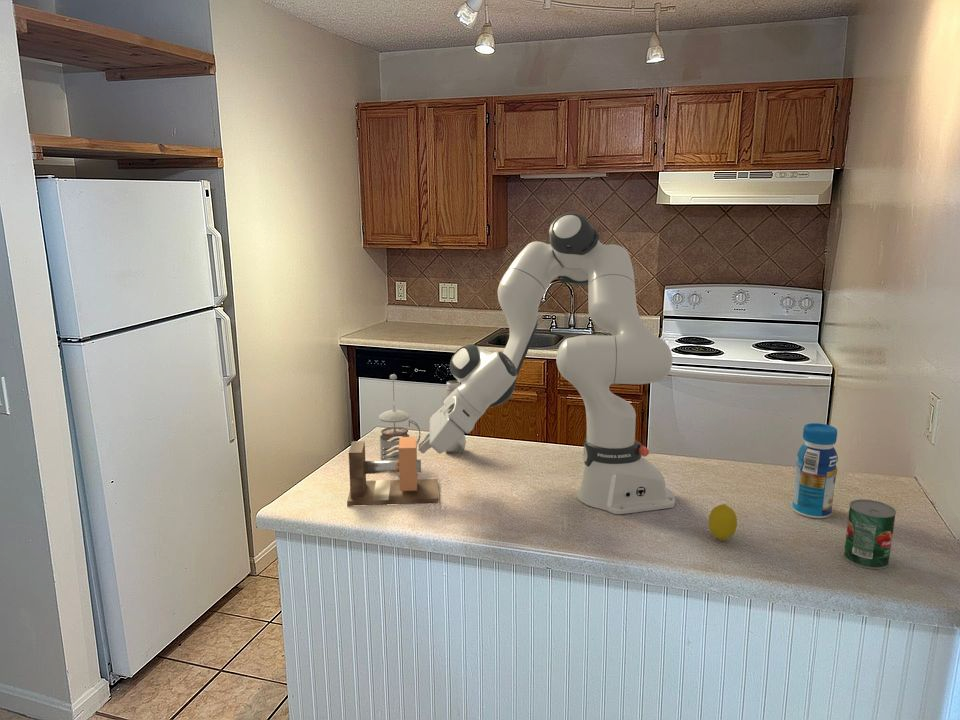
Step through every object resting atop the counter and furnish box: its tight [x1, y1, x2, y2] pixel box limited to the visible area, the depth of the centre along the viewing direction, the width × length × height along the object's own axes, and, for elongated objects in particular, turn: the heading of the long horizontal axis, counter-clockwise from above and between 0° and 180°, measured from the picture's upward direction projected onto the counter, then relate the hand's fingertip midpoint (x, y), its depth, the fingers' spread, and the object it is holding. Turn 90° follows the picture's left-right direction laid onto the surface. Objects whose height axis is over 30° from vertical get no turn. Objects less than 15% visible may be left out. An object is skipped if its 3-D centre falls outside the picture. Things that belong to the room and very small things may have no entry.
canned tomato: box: [843, 498, 897, 570], centre depth 139 cm, size 8×8×11 cm
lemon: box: [708, 503, 738, 541], centre depth 147 cm, size 6×6×8 cm
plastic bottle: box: [441, 380, 467, 453], centre depth 198 cm, size 6×7×20 cm
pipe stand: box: [346, 440, 440, 507], centre depth 169 cm, size 21×12×12 cm, turn 94°
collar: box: [398, 436, 418, 491], centre depth 169 cm, size 4×8×10 cm, turn 4°
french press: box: [378, 373, 421, 461], centre depth 187 cm, size 10×12×25 cm
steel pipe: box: [364, 459, 422, 475], centre depth 169 cm, size 15×3×3 cm, turn 94°
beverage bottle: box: [791, 422, 839, 519], centre depth 159 cm, size 8×8×20 cm
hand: (420, 449), depth 169 cm, fingers closed
